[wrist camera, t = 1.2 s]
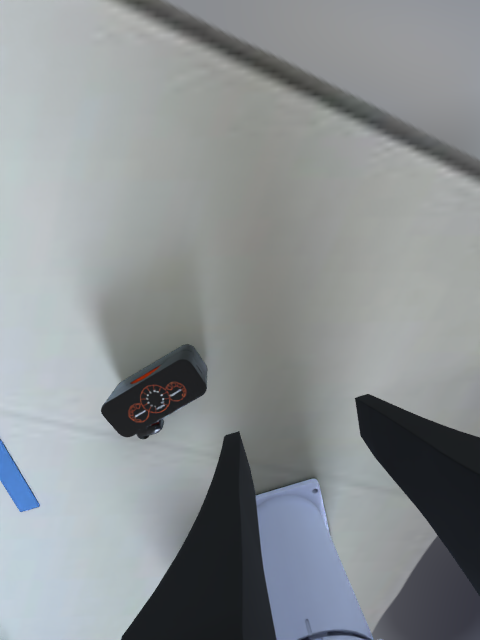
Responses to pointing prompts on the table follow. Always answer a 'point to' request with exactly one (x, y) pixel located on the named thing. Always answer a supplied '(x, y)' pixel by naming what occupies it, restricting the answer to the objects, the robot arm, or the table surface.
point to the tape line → (15, 482)
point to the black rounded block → (156, 393)
